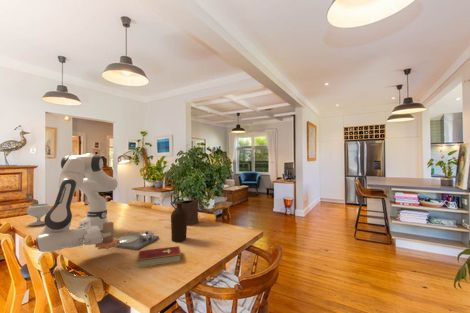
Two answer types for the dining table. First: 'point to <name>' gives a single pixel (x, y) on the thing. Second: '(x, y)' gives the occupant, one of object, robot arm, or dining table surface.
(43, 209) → the chalice
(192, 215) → the cup holder
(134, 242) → the carrier plate
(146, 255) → the hardcover book
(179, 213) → the olive oil
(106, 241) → the gear
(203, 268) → the dining table surface
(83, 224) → the robot arm
